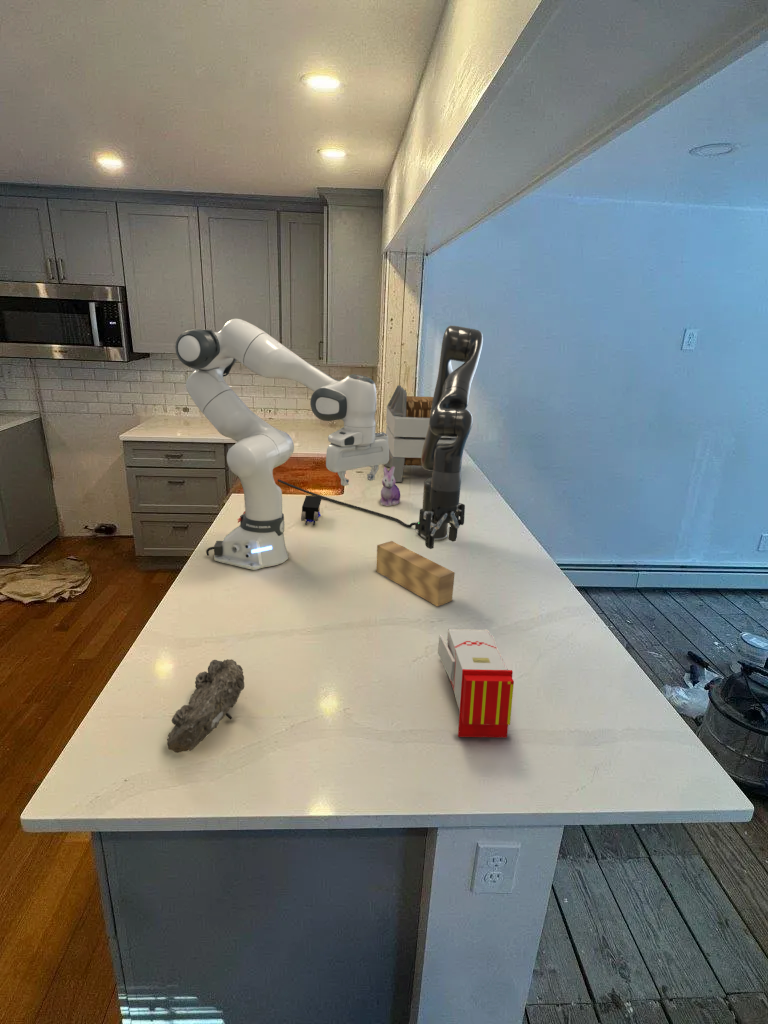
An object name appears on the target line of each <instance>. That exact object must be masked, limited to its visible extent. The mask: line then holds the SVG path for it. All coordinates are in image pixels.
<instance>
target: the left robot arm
mask: <svg viewBox="0 0 768 1024" xmlns="http://www.w3.org/2000/svg"><path fill="white" fill-rule="evenodd" d="M174 350H175V354H176V356H177V358H178V360H179V361H180V362H181V363H182V364H183V365H185V366H186V367H188V368H190V369H193V370H192V372H191V373H190V374H189V375H188V377H187V379H186V381H185V388H186V391H187V393H188V395H189V397H190V398H191V399H192V401H193V402H194V404H195V406H196V407H197V408H198V410H199V411H200V412H201V413H202V415H204V417H205V418H206V419H207V420H208V422H210V424H211V425H212V426H213V427H214V428H215V429H216V430H217V432H218V433H219V434H220V435H222V436H223V437H226V438H229V439H231V440H233V441H235V444H233V445H232V446H230V447H229V448H228V451H227V453H226V462H227V463H226V464H227V467H228V468H229V470H230V471H231V473H232V474H234V475H235V476H237V478H238V479H239V481H240V484H241V487H242V490H243V494H244V495H243V498H244V511H243V513H242V514H240V516H239V517H238V518H237V524H239V523H240V524H239V525H238V526H237V527H235V528H233V529H232V530H231V531H230V532H228V533H227V534H226V535H225V537H224V538H223V540H216V541H215V543H214V545H213V546H210V547H208V548H207V549H206V550H205V555H206V556H207V557H208V556H210V553H209V552H210V551H212V550H213V555H214V556H213V557H214V558H213V560H214V561H215V562H218V563H219V562H220V563H221V564H222V563H223V564H226V565H231V566H234V567H235V566H236V567H240V568H243V569H247V570H251V571H257V570H260V569H263V568H269V567H275V566H278V565H282V564H283V563H285V562H286V561H288V559H289V556H290V555H289V552H288V550H287V546H286V541H285V534H284V533H285V524H286V523H285V515H284V513H283V490H282V489H281V487H280V485H278V484H276V481H275V478H274V469H275V468H277V467H280V466H282V465H284V464H285V463H286V462H287V461H288V460H289V459H290V458H291V457H292V455H293V453H294V451H295V443H294V440H293V438H292V437H291V435H290V434H289V433H288V432H286V431H284V430H281V429H278V428H276V427H275V426H273V425H271V424H270V423H268V422H267V421H266V420H264V419H262V418H261V417H260V416H259V415H257V414H256V413H255V412H254V411H252V410H251V409H250V408H249V407H248V405H246V403H245V401H243V400H242V399H241V398H240V397H239V395H238V394H237V393H236V392H235V391H234V390H233V389H232V387H231V386H230V385H229V384H228V383H227V382H226V381H225V377H227V376H228V375H229V374H230V372H231V371H232V368H233V367H234V366H235V365H236V363H237V362H239V363H240V364H241V365H243V366H244V367H245V368H247V369H248V370H250V371H251V372H253V373H255V374H256V375H259V376H261V377H263V378H266V379H276V380H277V379H278V380H279V379H280V380H288V381H289V380H290V381H293V382H297V383H299V384H300V385H303V386H304V387H306V388H308V389H309V390H311V391H313V393H312V394H311V397H310V409H311V412H312V413H313V415H314V416H315V417H316V418H317V419H318V420H320V421H324V422H333V421H339V420H341V421H342V422H343V427H341V428H340V429H338V430H336V431H334V432H332V433H330V434H329V435H328V436H327V442H329V444H328V446H327V447H326V452H325V453H326V454H325V467H326V469H327V470H328V471H329V472H332V473H334V474H336V473H337V475H338V477H339V478H340V486H343V487H345V486H349V482H350V479H349V478H346V474H347V471H353V470H358V469H364V468H370V471H369V473H367V475H366V476H367V478H366V479H367V481H369V482H371V481H375V480H376V474H377V472H378V470H379V466H381V465H384V464H387V463H388V461H389V446H388V436H387V434H386V432H385V431H380V432H376V427H377V424H376V418H375V417H376V412H377V387H376V383H375V381H374V380H373V379H372V378H370V377H368V376H366V375H363V374H354V373H353V374H348V375H347V376H346V377H344V378H343V379H338V378H335V377H333V376H331V375H329V374H328V373H327V372H325V371H323V370H321V369H320V368H318V367H317V366H315V365H314V364H313V363H310V362H309V361H307V360H305V359H304V358H302V357H300V356H299V355H297V354H296V353H295V352H293V351H292V350H291V349H289V348H288V347H286V346H285V345H284V344H282V342H279V340H277V339H276V338H275V337H273V336H272V335H270V334H268V333H267V332H266V331H264V330H263V329H261V328H259V327H257V326H256V325H255V324H252V323H251V322H248V321H246V320H244V319H242V318H232V319H230V320H228V321H226V323H225V324H224V325H223V326H222V328H221V330H219V331H213V330H212V329H202V328H194V329H193V328H192V329H188V330H186V331H184V332H182V333H181V334H179V336H178V337H177V339H176V342H175V349H174Z"/></svg>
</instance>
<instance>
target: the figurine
mask: <svg viewBox="0 0 768 1024" xmlns="http://www.w3.org/2000/svg"><path fill="white" fill-rule="evenodd" d="M394 469H395V468H394V466H393V467H392V468H391V469H390V468H389V470H388V468H387V466H384V467H383V477H382V479H381V484H382V488H381V490H380V500H379V502H380V505H381V506H386V507H391V506H396V505H398V504H399V503H400V501H401V490H400V488H399V486H398V485H397V484H396V483H397V482H396V481H395V478H394V476H393V474H394Z"/></svg>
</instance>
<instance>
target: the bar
mask: <svg viewBox="0 0 768 1024" xmlns="http://www.w3.org/2000/svg"><path fill="white" fill-rule="evenodd" d="M376 547H377V548H376V567H375V572H376V573H378V574H380V575H382V576H383V577H385V578H387V579H389V580H390V581H392V582H394V583H396V584H398V585H399V586H401V587H403V588H405V590H408V591H409V592H411V593H413V594H415V595H417V596H418V597H420V598H421V599H423V600H425V601H427V602H428V603H430V604H432V605H434V606H436V607H440V606H443V605H445V604H448V603H451V602H452V601H453V594H454V583H455V574H456V573H455V571H453V570H452V569H449V568H447V567H445V566H442V565H441V564H439V563H437V562H435V561H433V560H431V559H429V558H427V557H425V556H423V555H421V554H419V553H417V552H415V551H413V550H412V549H411V550H410V549H409V548H407V547H405V546H403V545H401V544H398V543H397V542H395V541H393V540H390V541H386V542H383V543H380V544H376Z"/></svg>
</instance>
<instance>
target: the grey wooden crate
mask: <svg viewBox="0 0 768 1024" xmlns="http://www.w3.org/2000/svg"><path fill="white" fill-rule="evenodd" d="M407 394H408V393H407V390H406V389H404V388H403V387H402V385H399V384H398V385H397V386H396V388H395V390H394V392H393V394H392V395H391V398H390V400H389V402H388V404H387V405H386V413H385V414H386V415H385V423H386V428H385V434H387V436H388V446H389V461H388V463H387V464H383V466H384V467H386V468H387V467H388V468H389V470H390V469H391V468H392V467H393V466H394V468H395V469H394V474H393V476H394V478H395V481H396V483H402V482H403V475H404V469H405V466H406V467H407V466H411V467H412V466H413V467H415V466H416V467H417V466H418V467H422V464H421V455H422V449H423V445H424V442H425V438H426V435H427V431H428V426H429V420H430V414H431V407H432V401H433V396H415V395H414V396H413V395H412V396H411V395H407ZM456 439H457V438H456V437H447V436H442V437H441V438H440V439H439V441H438V443H450V444H451V443H454V442H455V441H456Z"/></svg>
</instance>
